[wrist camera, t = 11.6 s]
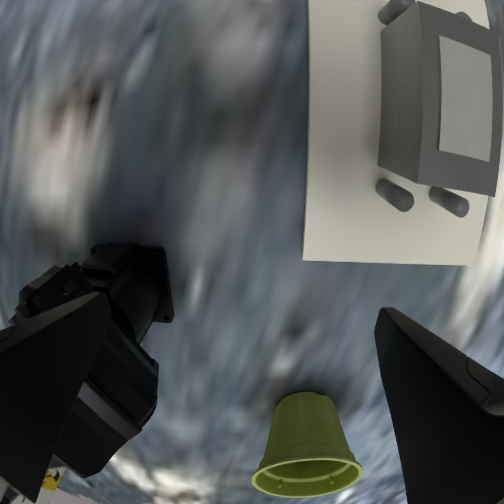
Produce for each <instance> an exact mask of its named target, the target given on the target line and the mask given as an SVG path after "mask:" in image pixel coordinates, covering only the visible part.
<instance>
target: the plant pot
mask: <svg viewBox="0 0 504 504" xmlns="http://www.w3.org/2000/svg"><path fill="white" fill-rule="evenodd" d="M362 474H363V469H362V466H361V465H360V464H359V463H358V462H357V461H356V460H355V457H354V455H353V453H352V452H351V451H350V449H349V446H348V444H347V441H346V438H345V435H344V432H343V429H342V426H341V423H340V420H339V417H338V414H337V411H336V408H335V405H334V402H333V401H332V399H331V398H330V397H328V396H326V395H319V394H316V393H314V392H299V393H294V394H291V395H289V396H286V397H284V398H283V399H282V400H281V401H280V402H279V404H278V405H277V406H276V407H275V409H274V414H273V419H272V423H271V428H270V432H269V437H268V441H267V446H266V450H265V454H264V458H263V459H262V460H261V462H260V464H259V468H258V469H257V470H256V471H255V472H254V474H253V476H252V484H253V485H254V486H255V487H256V488H257V489H259V490H260V491H263V492H265V493H267V494H271V495H275V496H280V497H290V498H303V497H315V496H321V495H327V494H331V493H334V492H337V491H340V490H342V489H345V488H347V487H349V486H350V485H352V484H354V483H355V482H357V481H358V480H359V479H360V477H361V476H362Z"/></svg>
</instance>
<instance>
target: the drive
mask: <svg viewBox="0 0 504 504" xmlns="http://www.w3.org/2000/svg"><path fill="white" fill-rule="evenodd" d="M380 37H381V120H380V139H379V154H378V166H379V167H382V168H384V169H386V170H388V171H391V172H393V173H395V174H397V175H399V176H402V177H404V178H406V179H408V180H410V181H412V182H414V183H416V184H422V185H429V186H435V187H442V188H448V189H454V190H460V191H466V192H471V193H477V194H482V195H487V196H492V197H495V192H496V186H497V179H498V171H499V162H500V152H501V139H502V115H503V93H502V70H501V57H500V48H499V39H498V33H496V32H494V31H492V30H490V29H488V28H486V27H484V26H481V25H479V24H477V23H475V22H473V21H471V20H468V19H466V18H464V17H461V16H459V15H456V14H454V13H451V12H449V11H446V10H443V9H441V8H438V7H435V6H432V5H429V4H426V3H423V2H420V1H417V2H416V3H415V4H413V5H412V6H411V7H409V8H408V9H407V10H406V11H405V12H403V13H402V14H401V15H400V16H398V17H397V18H396V19H395V20H394V21H392V22H391V23H390V24H389V25H388V26H386V27H385V28H384V29H383V30H382V31H381V32H380Z"/></svg>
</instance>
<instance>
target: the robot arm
mask: <svg viewBox="0 0 504 504" xmlns="http://www.w3.org/2000/svg"><path fill="white" fill-rule="evenodd" d="M95 250H97V252H96V251H95ZM90 251H91V256H90V257H89V258H88V259H87V260H86V261H84V262H83V263H82V265H81V266H79V264H78V263H77V262H75V263H74V264H73V265H72V266H70V267H69V265H68V264H67V265H66V266H65V267H63V268H60V267H58V266H53V267H52V268H51V269H49V270H48V271H47V272H46V273H44V274H43V275H42V276H40V277H39V278H37V279H36V280H34V281H32V282H31V283H29V284H28V285H26V286H25V287H24V288H23V289H22V290H21V291H20V292H19V303H18V307H17V308H16V309H15V311H16V314H15V315H14V316H13V317H12V318H11V319H10V320H9V321H8V322H9V323H10V325H11V326H10V327H8V328H6V329H3V330H1V331H0V504H11V503H12V502H13V501H14V500H15V499H16V498H17V497H18V496H19V495H21V496H23V497H24V498H26V499H27V500H29V501H31V502H32V503H34V504H35V503H36V501H37V499H38V495H39V492H40V489H41V486H42V483H43V481H44V478H45V475H46V472H47V469H54V468H62V467H67V468H69V469H70V470H72V471H73V472H74V473H76V474H77V475H79V476H80V477H82V478H87V477H89V476H92V475H94V474H97V473H99V472H100V471H101V470H102V469H103V468H104V466H105V465H106V464H107V463H108V461H109V460H110V459H111V457H112V456H113V455H114V454H115V453H116V452H117V450H118V449H119V448H120V447H122V446H123V445H124V444H125V443H126V442H127V441H128V440H130V439H131V438H133V437H134V436H136V435H137V434H138V433H140V432H141V431H142V427H143V426H144V425H145V424H146V423H147V422H148V421H149V419H150V418H151V416H152V415H153V413H154V411H155V408H156V404H157V398H158V396H157V390H158V374H159V364H158V363H157V362H156V361H155V360H154V359H151V357H150V356H149V355H148V354H147V353H146V352H145V351H144V350H143V348H142V347H141V346H140V343H141V342H142V340H143V338H144V336H145V335H146V333H147V331H148V330H149V328H150V326H151V324H152V323H153V322H162V323H170V322H172V320H173V318H174V314H173V307H172V300H171V293H170V286H169V278H168V270H167V262H166V253H165V251H164V249H163V248H161V247H150V246H138V245H137V244H135V243H113V242H108V243H107V244H105V245H94V246H93V247H92V248H91V250H90ZM156 252H159V253H160V255H161V256H158V255H157V254H156ZM80 269H81V270H80ZM166 316H168V317H169V318H167V317H166ZM374 336H375V342H376V348H377V354H378V361H379V368H380V374H381V378H382V382H383V386H384V390H385V394H386V398H387V402H388V406H389V410H390V414H391V418H392V423H393V427H394V432H395V436H396V441H397V446H398V450H399V455H400V461H401V466H402V471H403V477H404V483H405V489H406V491H407V492H406V496H407V503H408V504H504V379H503V378H501V377H500V376H498V375H496V374H495V373H493V372H491V371H490V370H488V369H486V368H485V367H483V366H482V365H480V364H479V363H477V362H476V361H474V360H473V359H471V358H470V357H467V355H465V354H464V353H462V352H461V351H459V350H458V349H456V348H455V347H453V346H452V345H450V344H449V343H447V342H446V341H444V340H443V339H441V338H440V337H438V336H437V335H435V334H434V333H432V332H431V331H429V330H428V329H426V328H424V327H423V326H421V325H420V324H418V323H417V322H415V321H414V320H412V319H411V318H409V317H408V316H406V315H404V314H403V313H401V312H400V311H398V310H397V309H395V308H393V307H382V308H381V309H380V311H379V314H378V318H377V322H376V326H375V330H374Z"/></svg>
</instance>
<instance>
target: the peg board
mask: <svg viewBox="0 0 504 504" xmlns="http://www.w3.org/2000/svg"><path fill="white" fill-rule="evenodd" d="M417 1H420V2H423V3H426V4H429V5H432V6H435V7H438V8H441V9H443V10H446V11H449V12H451V13H454V14H456V15H459V16H461V17H464V18H466V19H468V20H471V21H473V22H475V23H477V24H479V25H481V26H484V27H486V28H488V29H489V22H488V17H487V11H486V6H485V2H484V0H307V7H308V47H309V103H308V147H307V173H306V194H305V213H304V229H303V243H302V259H303V260H311V261H340V262H370V263H401V264H435V265H471V266H473V264H474V260H475V256H476V252H477V248H478V244H479V240H480V236H481V231H482V227H483V222H484V217H485V211H486V206H487V200H488V196H487V195H482V194H477V193H471V192H466V191H460V190H454V189H448V188H442V187H435V186H429V185H422V184H416V183H414V182H412V181H410V180H408V179H406V178H404V177H402V176H399V175H397V174H395V173H393V172H391V171H388V170H386V169H384V168H382V167H379V166H378V154H379V139H380V120H381V37H380V32H381V31H382V30H383V29H384V28H385V27H386V26H388V25H389V24H390V23H391V22H392V21H394V20H395V19H396V18H397V17H398V16H400V15H401V14H402V13H403V12H405V11H406V10H407V9H408V8H409V7H411V6H412V5H413V4H415V3H416V2H417Z"/></svg>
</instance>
